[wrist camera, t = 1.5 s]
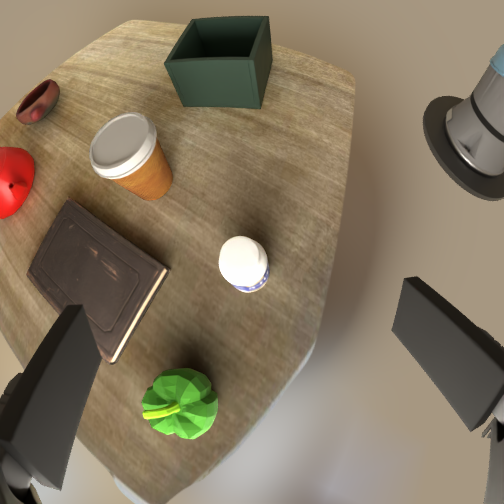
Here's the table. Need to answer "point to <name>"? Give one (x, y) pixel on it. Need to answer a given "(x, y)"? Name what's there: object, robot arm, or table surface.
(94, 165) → the disposable coffee cup
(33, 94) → the bowl
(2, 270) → the table surface
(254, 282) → the pill bottle
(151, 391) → the bell pepper
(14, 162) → the teapot
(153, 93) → the table surface
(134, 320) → the hardcover book
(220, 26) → the waste bin
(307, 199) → the table surface
